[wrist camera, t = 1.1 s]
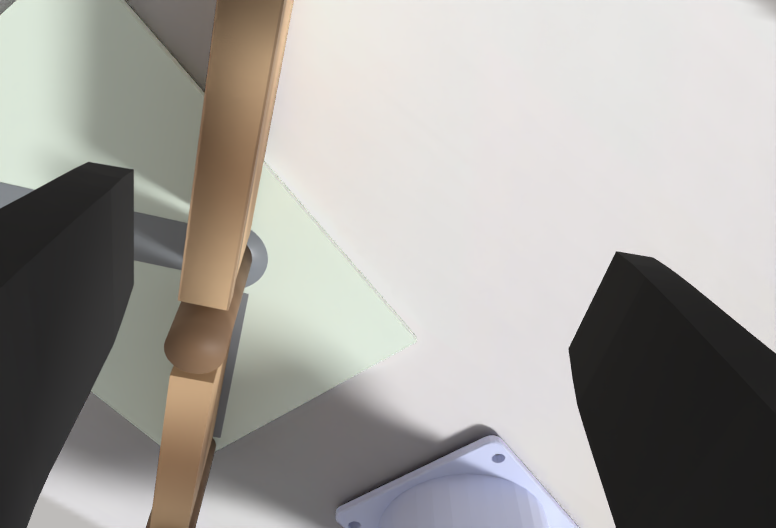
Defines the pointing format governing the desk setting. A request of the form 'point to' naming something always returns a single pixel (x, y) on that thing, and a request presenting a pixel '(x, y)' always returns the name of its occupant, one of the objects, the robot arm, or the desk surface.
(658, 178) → the desk surface
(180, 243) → the card
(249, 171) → the fence wing
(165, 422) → the fence fixed
